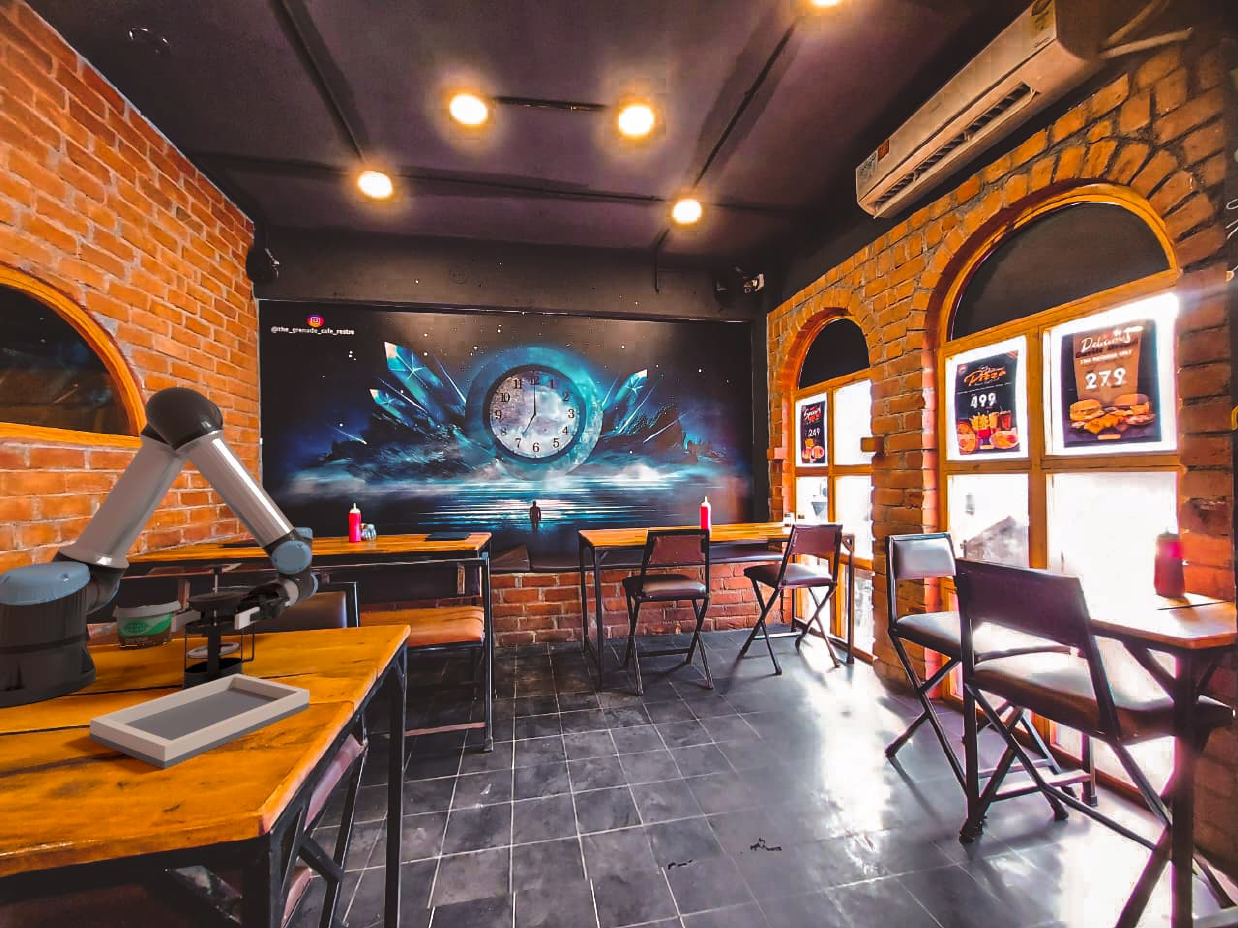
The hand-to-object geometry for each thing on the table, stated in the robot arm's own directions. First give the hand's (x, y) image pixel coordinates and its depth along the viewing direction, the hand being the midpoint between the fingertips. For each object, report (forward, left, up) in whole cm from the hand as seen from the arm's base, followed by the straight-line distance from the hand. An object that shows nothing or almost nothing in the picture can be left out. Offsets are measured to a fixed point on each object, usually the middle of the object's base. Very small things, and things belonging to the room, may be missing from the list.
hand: (205, 623), depth 94 cm
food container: (-43, +10, -13) cm, 46 cm away
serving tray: (+16, -7, -12) cm, 21 cm away
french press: (-2, +4, -13) cm, 13 cm away
